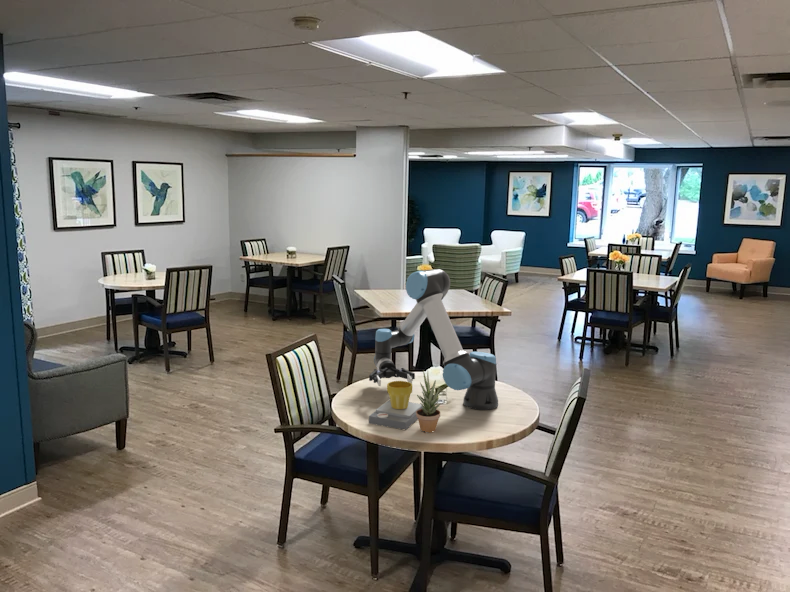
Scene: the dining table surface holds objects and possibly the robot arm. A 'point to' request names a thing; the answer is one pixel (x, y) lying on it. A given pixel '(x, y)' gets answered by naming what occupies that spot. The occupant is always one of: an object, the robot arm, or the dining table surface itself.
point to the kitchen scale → (395, 415)
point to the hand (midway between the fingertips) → (395, 382)
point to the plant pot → (399, 394)
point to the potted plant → (428, 408)
